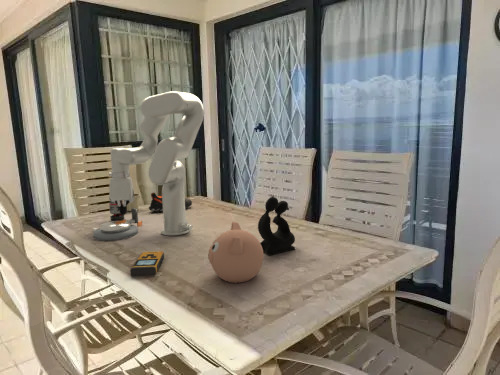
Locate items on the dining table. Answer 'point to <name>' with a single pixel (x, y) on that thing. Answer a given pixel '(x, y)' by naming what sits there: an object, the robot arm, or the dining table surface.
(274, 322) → the dining table surface
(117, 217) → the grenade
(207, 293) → the dining table surface
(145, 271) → the electronic device
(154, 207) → the athletic shoe
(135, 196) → the flower pot
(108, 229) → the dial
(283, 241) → the figurine
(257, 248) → the toy
